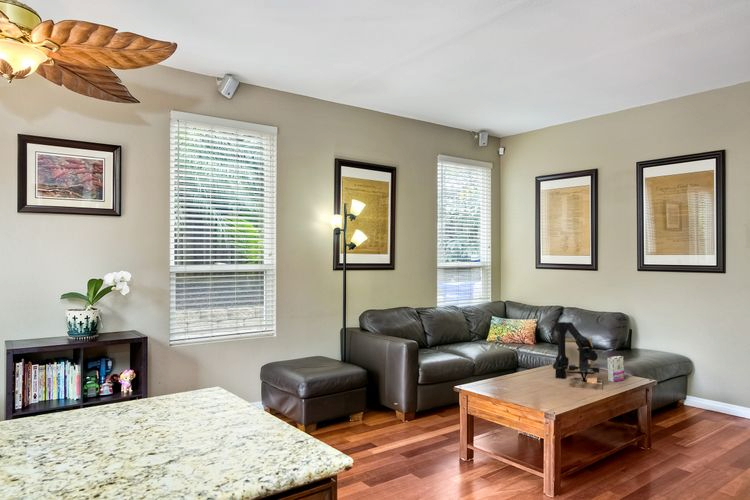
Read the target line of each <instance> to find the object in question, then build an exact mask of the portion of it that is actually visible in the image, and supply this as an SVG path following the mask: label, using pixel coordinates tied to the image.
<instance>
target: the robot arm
mask: <svg viewBox="0 0 750 500" xmlns="http://www.w3.org/2000/svg"><path fill="white" fill-rule="evenodd" d="M554 330H555V332H556V334H557V356H556V358H555V362H554V364H552V368H553V369H554V370H555V378H556V379H566V378H567V372H566V371H565V369H567V368H568V364H569V358H567V357H566V354H565V338H566V334H567V333H568V332H569V334H570V335H571V336H572V338H575V340H576V344H577V346H578V347H579V348H578V349H577V350H579V367H576V366H575V365H569V370H572V371H574V370H575V369H578V372H577V373H580V376H581V378H582V379H583V382H585V379H587V376H588V374H591V373H590V370H591V371H593V372H594V373H600V367H599V366H595V365H594V366H593V368H591V364H588V360H592V361H594V362H596V361H597V360H598V358H599V355H598V354H597V352H596V351H595V350H596V349H594V347H593V348H592V346H593V345H592V346H591V344H590V341H589V340H588V339H589V338H587V337H585V336H584V335H582V334H581V332H580V331H579V330H578V329H577V328H576V327H575V326H574V324H573V322H570V321H568V322H566V321H557V322H556V323H555V324H554ZM588 347H589V348H588ZM583 371H585V372H583Z"/></svg>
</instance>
